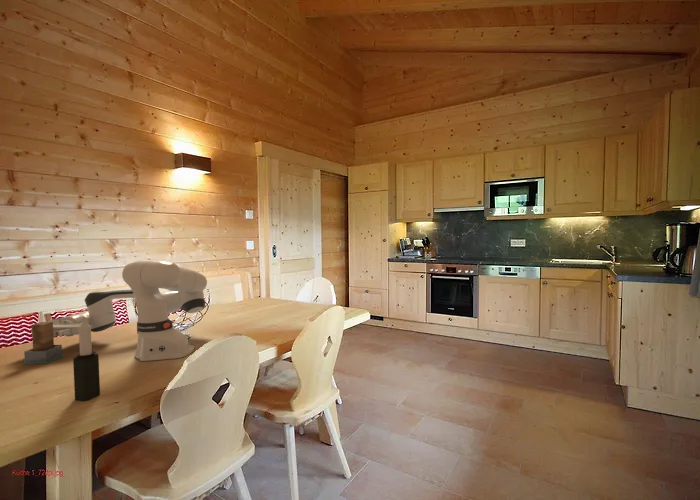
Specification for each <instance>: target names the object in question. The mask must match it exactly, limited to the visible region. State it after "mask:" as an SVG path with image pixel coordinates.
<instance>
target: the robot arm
mask: <svg viewBox="0 0 700 500" xmlns="http://www.w3.org/2000/svg"><path fill="white" fill-rule="evenodd" d="M121 274H122V279H123V281H124V283H126V284H127V285H128V287H129V288H130V289H120V290H118V289H117V290H104V289H103V290H102V289H101V290H94V291H91V292H89V293H87V295H86V297H85V298H84V302H85V306H86V308H87V310H85V311H81V312H78V313H76V314H71V315H68V316H67V315H66V316H64V317H59V318H51V319H48V322H53V336H56V337H62V336H65V337H73V336H75V335H76V336H77V335H78V336H79V327H80V326H81V324H82V321H83V317H84V316H85V317H86V321H87V323H88V324H89V325H90V327H91V333H97V332H103V331H106V330H108V329H110V328H112V327H113V326H114V325H115V324H116V322H117V318H116V313H115V312H116V311H115V309H114V305H113V300H115V299H116V300H117V299H133V300H135V302H136V307H137V310H136V311H137V322H136V332H137V344H136V349H135V350H136V351H135V354H134V358H136V359H138V360H139V361H140V362H149V361H159V360H172V359H175V360H176V359H181V358H182V359H183V358H184V357H186V356H188V355H190V354H191V353H193V352H194V350H195V346H194V345H190V344H189V340H188V336H187V335H186V334H184V333H183V332H181V331H180V330H178V329H176V328H175V327H174V326H173V325H174V323H175V320H174V319H173V320H171V319H170V318H169V315H170V314H172V313H175V312H178V311H184V313H188V314H195V313H197V312H201V311H202V310H203V309H204V308H205V307H206V299H205V294H204V290H205V289H206V288H207V284H208V280H207V277H206V276H205V275H204V274H202V273H200V272H198V271H195V270H192V269H189V268H184V267H180V266H179V265H178V264H176V263H172V262H168V261H164V260H163V261H162V260H161V261H153V260H139V261H134V262H129V263H128V264H127V265H125V266H124V268H123V270H122V272H121ZM159 289H165V290H168V291H165V292H160V290H159Z"/></svg>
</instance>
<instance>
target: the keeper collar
mask: <svg viewBox="0 0 700 500" xmlns="http://www.w3.org/2000/svg"><path fill="white" fill-rule="evenodd" d="M23 354H24V355H23V357H24V361H23V365H47V364H50V363H52V362H54V361H56V360H59V359H60V358H63V357H64V354H63V344H54V347H53V348H50V349H48V350H43V351H33V348H30V349H28V350H25V351H24V352H23Z"/></svg>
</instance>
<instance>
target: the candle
mask: <svg viewBox="0 0 700 500" xmlns="http://www.w3.org/2000/svg"><path fill="white" fill-rule="evenodd" d="M78 339H79V340H78V341H79V353H77V354H76V356H75V357H73V358H72V360H73V361H72V363H73V365H72V366H73V384H74V385H73V387H74V400H75V401H77V402H78V401H79V402H80V401H81V402H87V401H90V400H92V399H94V398H96V397H98V396H100V395H101V386H100V385H101V384H100V363H99V362H100V361H99V360H100V359H99V358H100V357H99V356H100V355H99V354H98V353H96V352H95V351H92V350H93V349H92V331H91V327H90V325H89V324H88V323H87V321H86V317H85V316H84V317H83V321H82V324H81V326H80V327H79V335H78Z"/></svg>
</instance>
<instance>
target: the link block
mask: <svg viewBox="0 0 700 500" xmlns="http://www.w3.org/2000/svg"><path fill="white" fill-rule="evenodd" d="M31 336H32V337H31V338H32V349H33V351H43V350H48V349H50V348H53V347H54V345H55V343H54V342H55V341H54V335H53V322H49V321H41V322H36V323H34V324H33V323H32V324H31Z"/></svg>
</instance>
